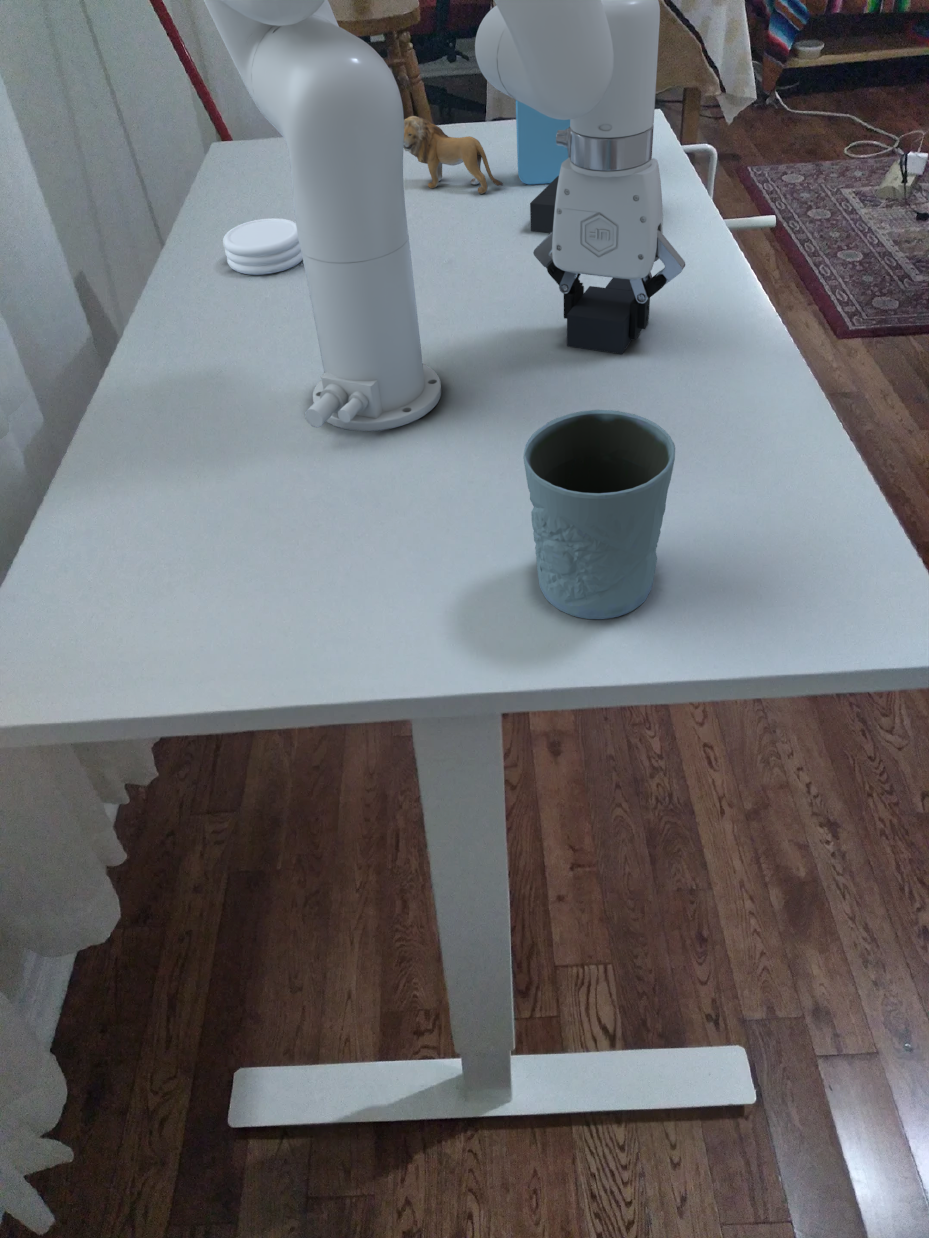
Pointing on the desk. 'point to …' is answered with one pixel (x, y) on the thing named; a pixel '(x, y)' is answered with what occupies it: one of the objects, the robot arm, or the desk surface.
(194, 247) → the desk surface
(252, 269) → the coaster
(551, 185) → the notch pad
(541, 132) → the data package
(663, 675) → the desk surface
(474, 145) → the lion figurine
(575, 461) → the embossed blue-grey cup
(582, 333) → the pad
